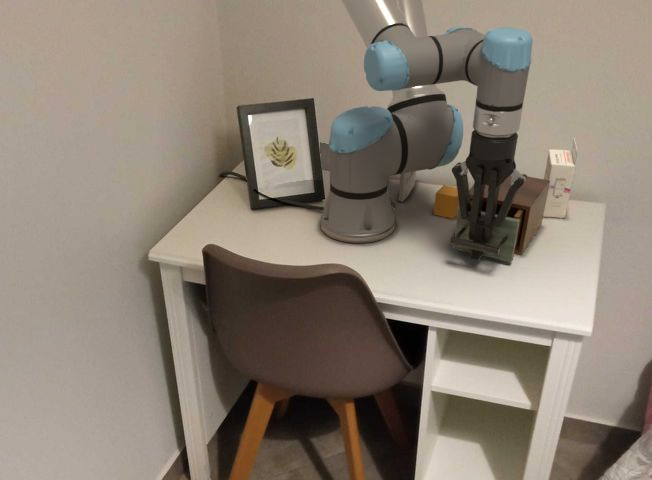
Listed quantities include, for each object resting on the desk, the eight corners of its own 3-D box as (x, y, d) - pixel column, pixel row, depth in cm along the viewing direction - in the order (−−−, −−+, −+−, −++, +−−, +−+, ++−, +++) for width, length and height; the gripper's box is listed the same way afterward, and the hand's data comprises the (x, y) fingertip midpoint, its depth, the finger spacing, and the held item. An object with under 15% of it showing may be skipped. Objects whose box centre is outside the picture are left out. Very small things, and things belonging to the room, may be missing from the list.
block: (433, 214, 151) (435, 192, 148) (441, 206, 154) (443, 184, 151) (453, 218, 149) (456, 196, 146) (461, 210, 152) (463, 188, 149)
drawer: (500, 277, 128) (507, 236, 123) (441, 262, 133) (445, 222, 128) (530, 235, 141) (537, 196, 136) (475, 222, 146) (480, 184, 141)
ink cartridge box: (538, 199, 156) (550, 134, 147) (561, 201, 155) (575, 135, 146) (540, 217, 149) (554, 149, 140) (565, 218, 148) (580, 150, 139)
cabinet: (521, 255, 136) (530, 207, 130) (459, 240, 141) (465, 193, 135) (541, 226, 146) (550, 180, 140) (481, 214, 151) (488, 168, 145)
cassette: (404, 202, 156) (407, 169, 151) (396, 201, 157) (398, 168, 152) (417, 181, 165) (419, 149, 160) (409, 180, 166) (411, 148, 161)
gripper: (449, 131, 118) (436, 256, 132) (528, 144, 112) (505, 273, 126) (465, 118, 123) (450, 239, 137) (540, 130, 117) (517, 255, 131)
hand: (477, 255), depth 131 cm, fingers closed
